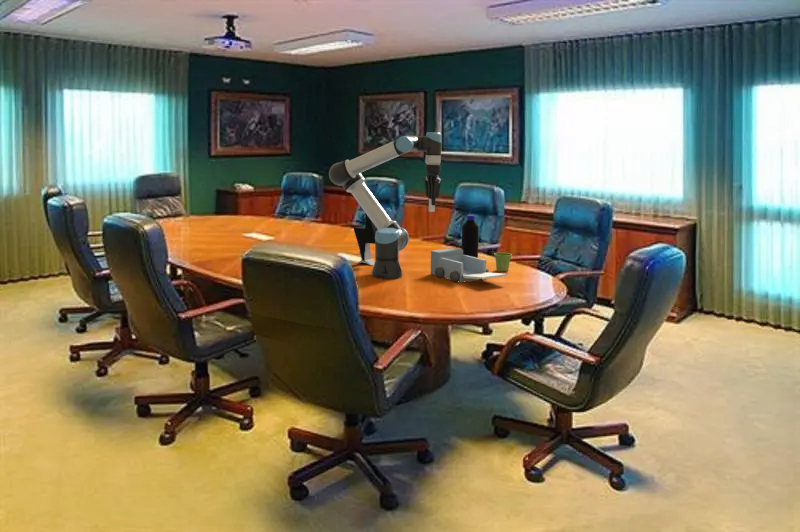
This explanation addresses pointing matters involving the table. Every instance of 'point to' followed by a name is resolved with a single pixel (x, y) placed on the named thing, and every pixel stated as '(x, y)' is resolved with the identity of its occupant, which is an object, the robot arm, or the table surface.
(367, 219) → the award
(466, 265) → the truck bed
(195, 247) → the table surface
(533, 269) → the table surface
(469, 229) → the bottle
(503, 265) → the plant pot
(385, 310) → the table surface
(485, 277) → the tailgate
